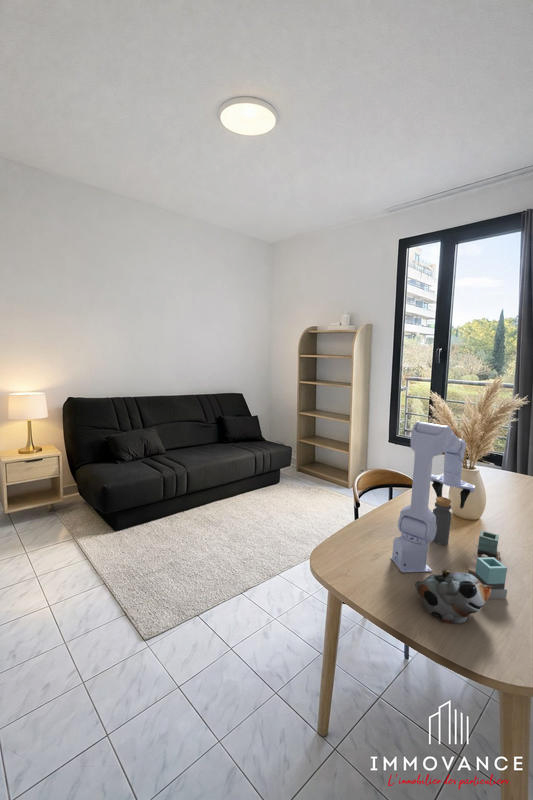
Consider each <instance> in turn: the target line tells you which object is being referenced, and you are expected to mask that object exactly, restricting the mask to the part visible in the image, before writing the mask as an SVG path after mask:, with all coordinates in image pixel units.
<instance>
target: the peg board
mask: <svg viewBox="0 0 533 800" xmlns="http://www.w3.org/2000/svg"><path fill="white" fill-rule="evenodd" d="M478 536H479V537H478V544H476V545H475V547H474V550H473V554H472V556H471V560H470V564H469V567H468V572H467V573H468V574H471V575H473V576H475V571H476V563H477V558H484V557H494V558H495V559H497V560H498V561H499V562H500V559H501V551H498V546H499V545H498V544H499V539H500V535H499V534H496V533H493V532H489V531H485V530H483V529H481V530H480V534H479V535H478Z"/></svg>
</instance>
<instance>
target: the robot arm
mask: <svg viewBox="0 0 533 800" xmlns="http://www.w3.org/2000/svg"><path fill="white" fill-rule="evenodd" d="M410 432H411V433H410V449H412V450H413V451H414V458H413V459H414V460H413V461H414V462H413V474H412V485H411V499H410V504H408V505H406V506H404V507H403V508H402V509H401V510H400V512H399V513H400V514H399V518H398V520H397V528H398V531H399V532H400V536H396V537H394V539H393V542H392V555H391V556H390V558H391V560H392V562H393V563H394V564H395V565H396V566H397V568H398V569H399V571H400V572H401V573H404V574H405V573H432V572H433V570H432V569H431V567H430V566H428V564H427V559H428V551H429V550H428V549H429V543H431V542H433V540H434V538H435V535H436V531H437V525H436V516H435V515H434V514H433V510H431V509H430V508H429V503H430V490H431V486H432V489H433V490H434V492H435V496H436V498H437V497H443V488H444V485H445V486H447V487H451V488H458V489H461V491H460V492H459V493H460V502H459V503H460V504H459V508H460V509H464V507H465V504H466V501H467V499H468V497H469V495H470V494H471V493H472V494H473V493H474V492H476V485H474V484H471V483H470V482H469V483H468V482H466V481H464V480H462V474H463V473H462V472H463V462H464V461H463V460H464V459H465V452H466V448H467V441H466V440H464V439H463V438H459V437H458V436H457V435H456V433H454V431H453V430H452V428H451V426H450V425H444V424H443V425H442V424H437V423H431V422H424V421H421V420H417V421H416V422H415V423H414V424H413V426H412V428H411V431H410ZM443 453H444V461H443V475H435V474H432V469H433V459H434V457H436V456H440V455H442V454H443ZM431 483H432V484H431Z"/></svg>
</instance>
